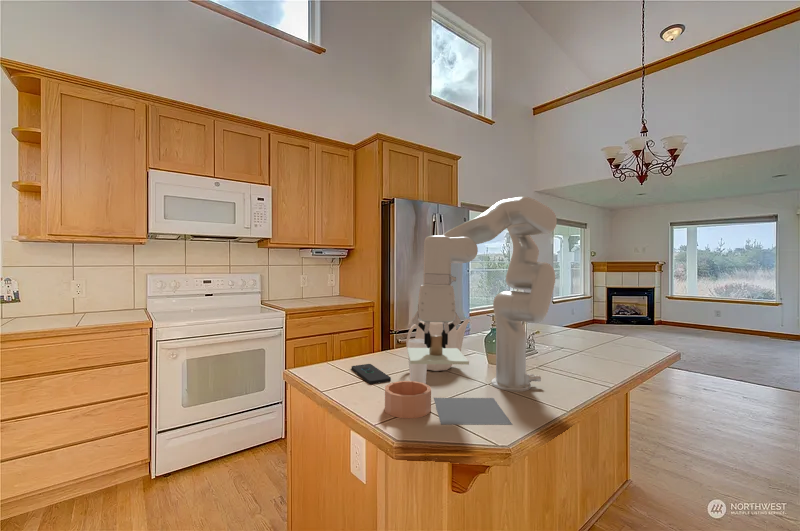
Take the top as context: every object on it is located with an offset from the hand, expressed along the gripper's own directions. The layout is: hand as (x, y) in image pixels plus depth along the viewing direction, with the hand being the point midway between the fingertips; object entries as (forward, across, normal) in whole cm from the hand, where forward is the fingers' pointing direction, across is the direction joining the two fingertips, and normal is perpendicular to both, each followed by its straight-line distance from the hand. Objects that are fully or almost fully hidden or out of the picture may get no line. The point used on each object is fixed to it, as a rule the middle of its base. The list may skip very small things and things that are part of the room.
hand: (435, 346), depth 99 cm
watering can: (+17, -7, -42) cm, 46 cm away
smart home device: (+18, +19, -33) cm, 43 cm away
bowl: (+18, +7, -1) cm, 19 cm away
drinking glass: (+18, +3, -21) cm, 28 cm away
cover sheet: (+3, 0, 0) cm, 3 cm away
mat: (+18, -10, 0) cm, 20 cm away
